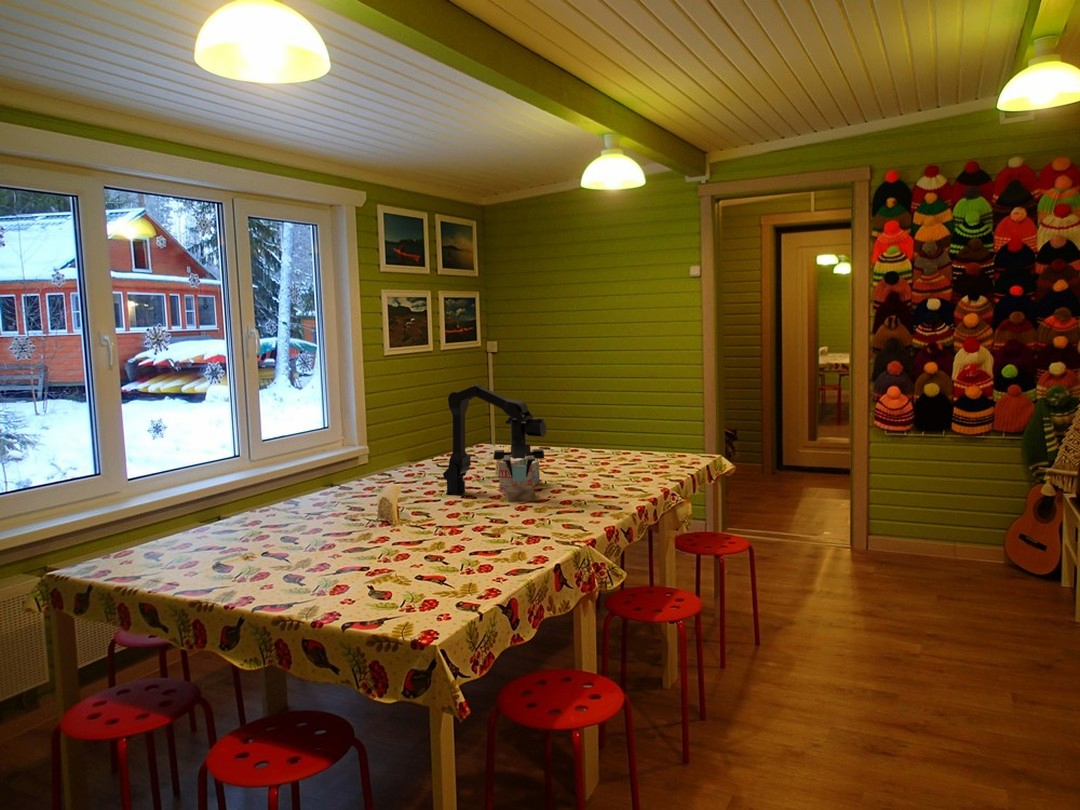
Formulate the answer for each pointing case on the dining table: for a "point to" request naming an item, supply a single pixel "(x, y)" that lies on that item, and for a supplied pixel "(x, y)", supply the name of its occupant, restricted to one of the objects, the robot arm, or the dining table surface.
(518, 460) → the stack of blocks
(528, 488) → the walnut block
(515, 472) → the teal cube
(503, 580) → the dining table surface
